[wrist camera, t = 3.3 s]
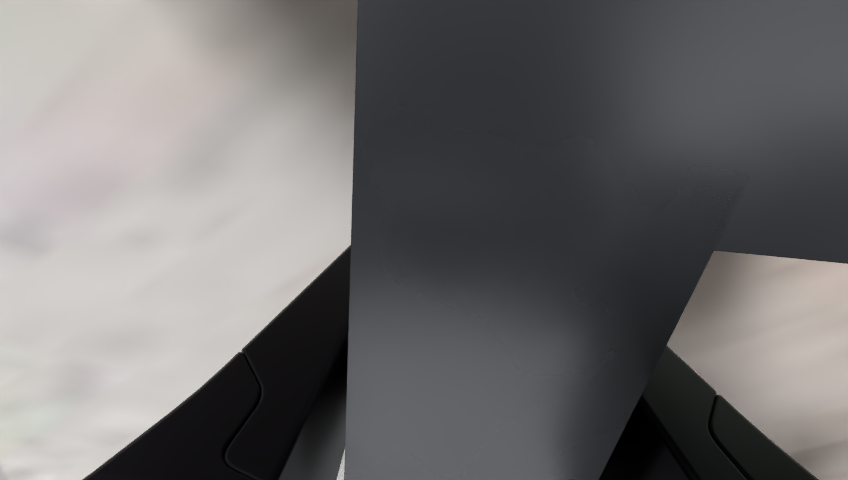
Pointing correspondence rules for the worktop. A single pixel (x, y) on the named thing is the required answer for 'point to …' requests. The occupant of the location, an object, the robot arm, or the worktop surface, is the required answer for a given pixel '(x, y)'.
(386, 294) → the bracket
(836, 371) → the worktop surface
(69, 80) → the worktop surface
